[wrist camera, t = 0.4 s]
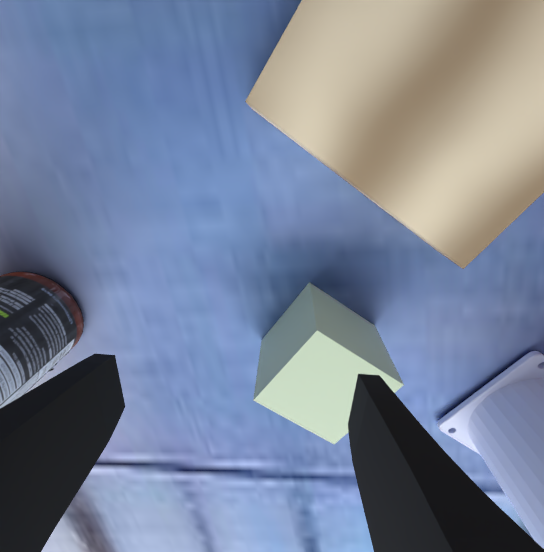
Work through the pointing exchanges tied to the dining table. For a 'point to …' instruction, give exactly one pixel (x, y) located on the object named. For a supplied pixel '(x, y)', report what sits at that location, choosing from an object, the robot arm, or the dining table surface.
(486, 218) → the base
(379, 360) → the cube
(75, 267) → the dining table surface
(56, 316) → the supplement bottle
